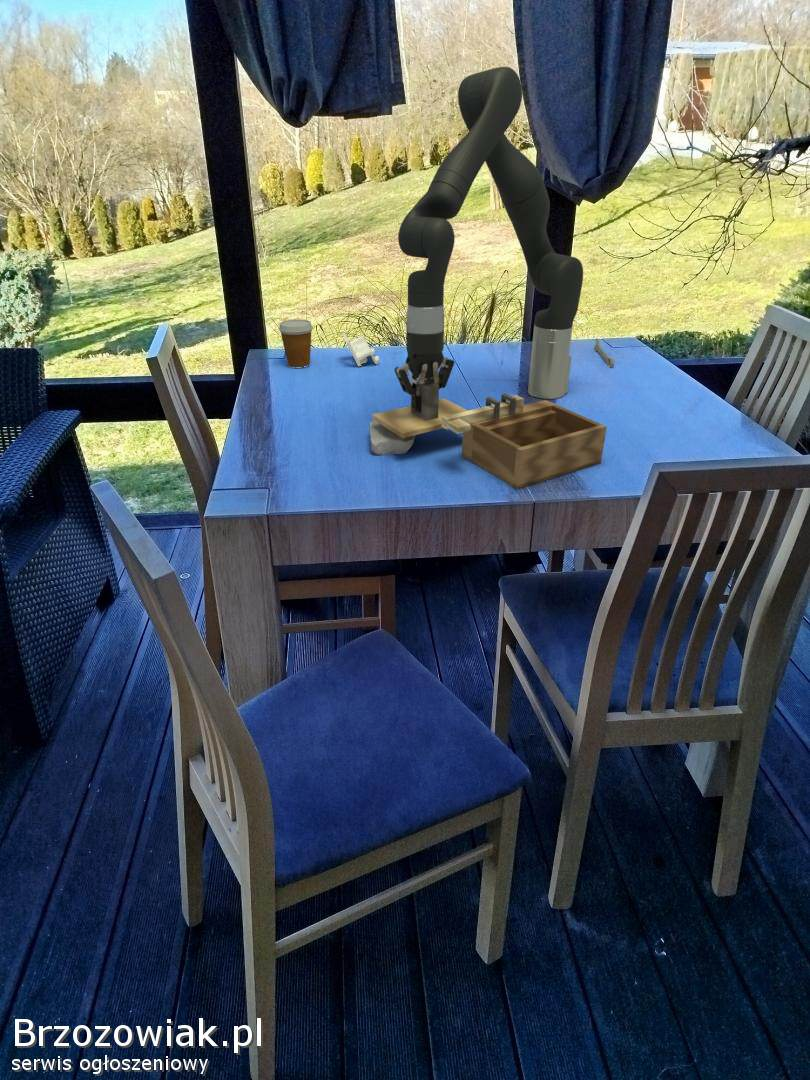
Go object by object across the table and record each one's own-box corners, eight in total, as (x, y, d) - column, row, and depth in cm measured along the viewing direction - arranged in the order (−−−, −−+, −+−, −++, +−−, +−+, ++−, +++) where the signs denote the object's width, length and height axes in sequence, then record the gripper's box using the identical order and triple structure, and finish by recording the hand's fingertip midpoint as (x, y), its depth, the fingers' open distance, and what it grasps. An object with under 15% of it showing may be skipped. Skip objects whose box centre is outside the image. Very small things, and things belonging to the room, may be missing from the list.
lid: (443, 402, 154) (444, 367, 150) (476, 419, 145) (478, 383, 141) (372, 418, 146) (371, 382, 142) (402, 438, 137) (402, 399, 133)
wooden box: (541, 434, 152) (547, 383, 146) (600, 463, 139) (609, 409, 133) (461, 455, 142) (464, 402, 136) (517, 489, 129) (522, 432, 123)
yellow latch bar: (514, 407, 144) (515, 394, 142) (533, 416, 139) (534, 403, 138) (440, 425, 135) (440, 412, 134) (457, 435, 131) (458, 422, 129)
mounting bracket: (356, 362, 205) (340, 330, 199) (375, 352, 205) (359, 320, 199) (362, 374, 195) (345, 341, 189) (382, 364, 195) (365, 330, 189)
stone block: (409, 440, 154) (365, 434, 153) (413, 421, 152) (369, 414, 150) (414, 464, 145) (368, 457, 143) (419, 443, 142) (372, 437, 140)
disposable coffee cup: (286, 372, 191) (282, 328, 185) (279, 362, 199) (275, 320, 192) (319, 368, 194) (316, 325, 188) (310, 359, 202) (307, 317, 195)
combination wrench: (615, 357, 192) (599, 337, 208) (610, 357, 192) (594, 337, 208) (613, 370, 194) (597, 349, 210) (608, 370, 194) (592, 349, 210)
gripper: (443, 318, 141) (441, 398, 150) (385, 328, 135) (386, 410, 144) (465, 326, 136) (461, 409, 145) (405, 336, 130) (405, 422, 139)
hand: (424, 409), depth 144 cm, fingers closed on lid, 3 cm apart
